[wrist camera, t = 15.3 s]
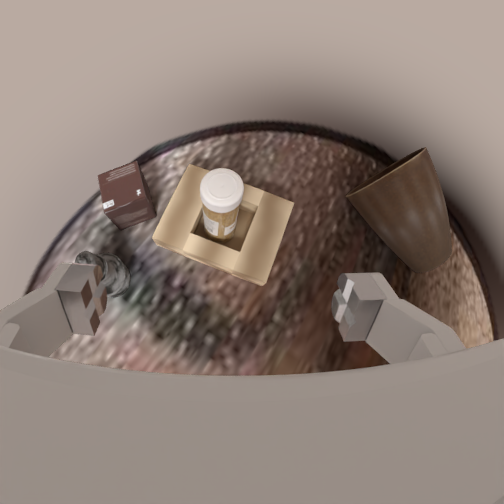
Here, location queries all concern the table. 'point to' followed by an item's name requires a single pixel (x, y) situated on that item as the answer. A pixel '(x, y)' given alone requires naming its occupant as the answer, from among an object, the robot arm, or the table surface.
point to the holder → (244, 240)
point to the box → (126, 196)
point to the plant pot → (407, 211)
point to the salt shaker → (108, 271)
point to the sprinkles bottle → (221, 203)
